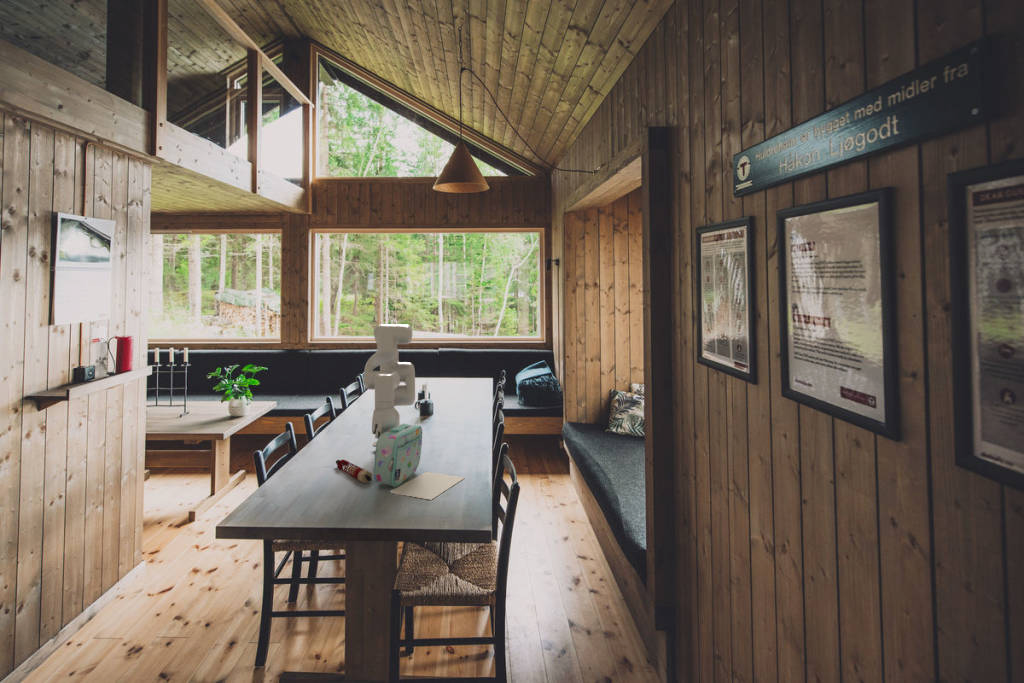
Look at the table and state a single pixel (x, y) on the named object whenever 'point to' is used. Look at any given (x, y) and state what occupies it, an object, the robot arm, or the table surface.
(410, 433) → the lunch box
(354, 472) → the shock absorber
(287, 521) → the table surface
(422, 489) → the mat
